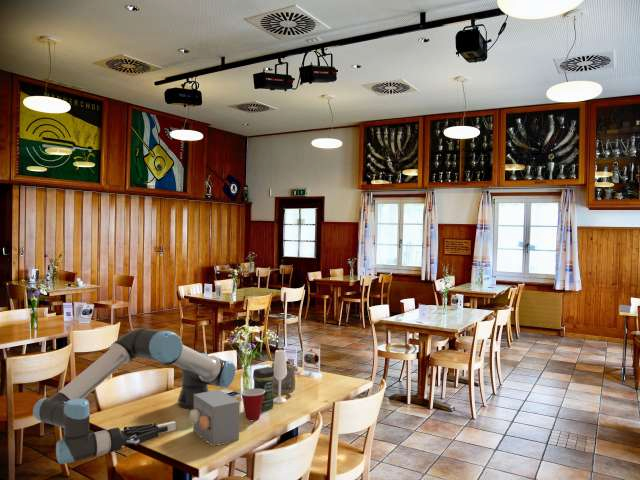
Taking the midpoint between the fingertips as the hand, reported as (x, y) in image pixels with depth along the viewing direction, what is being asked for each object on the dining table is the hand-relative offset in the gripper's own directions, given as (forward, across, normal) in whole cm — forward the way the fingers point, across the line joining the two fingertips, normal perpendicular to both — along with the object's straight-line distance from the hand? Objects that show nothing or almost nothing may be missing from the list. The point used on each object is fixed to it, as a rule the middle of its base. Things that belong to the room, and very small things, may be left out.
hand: (174, 425), depth 184 cm
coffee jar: (+50, -20, -10) cm, 55 cm away
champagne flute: (+62, -24, -10) cm, 67 cm away
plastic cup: (+40, -11, -10) cm, 42 cm away
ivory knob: (+16, -8, -4) cm, 18 cm away
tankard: (+72, -34, -10) cm, 80 cm away
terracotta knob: (+16, 0, -4) cm, 17 cm away
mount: (+18, -4, -9) cm, 21 cm away
